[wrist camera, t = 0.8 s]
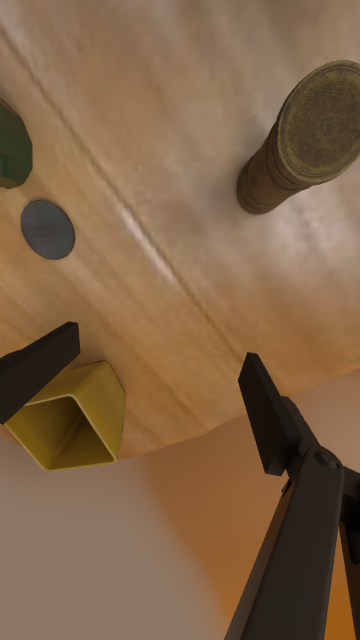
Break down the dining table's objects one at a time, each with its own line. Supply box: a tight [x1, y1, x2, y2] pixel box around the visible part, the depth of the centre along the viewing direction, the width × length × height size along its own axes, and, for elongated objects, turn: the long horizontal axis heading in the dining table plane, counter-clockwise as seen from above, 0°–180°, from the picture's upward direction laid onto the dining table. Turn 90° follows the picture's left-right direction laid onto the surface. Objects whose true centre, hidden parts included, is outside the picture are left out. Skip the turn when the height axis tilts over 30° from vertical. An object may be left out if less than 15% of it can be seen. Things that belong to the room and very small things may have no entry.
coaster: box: [21, 200, 75, 259], centre depth 39 cm, size 11×11×1 cm
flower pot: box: [4, 361, 126, 472], centre depth 46 cm, size 19×19×17 cm
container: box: [237, 60, 360, 215], centre depth 25 cm, size 9×9×18 cm
